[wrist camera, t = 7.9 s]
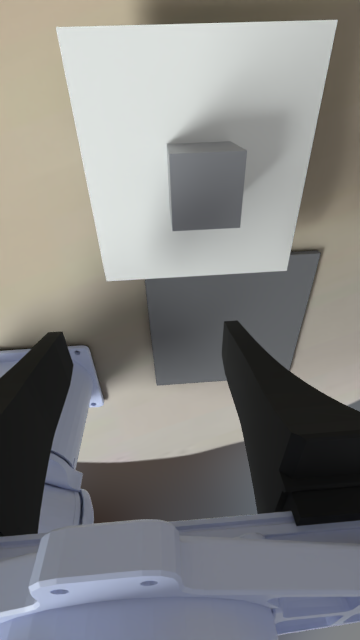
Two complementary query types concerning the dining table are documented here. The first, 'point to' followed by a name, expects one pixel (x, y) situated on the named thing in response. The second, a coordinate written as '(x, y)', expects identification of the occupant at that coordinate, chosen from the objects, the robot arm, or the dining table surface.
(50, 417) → the robot arm
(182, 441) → the dining table surface
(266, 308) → the mat
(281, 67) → the lid
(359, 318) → the dining table surface
